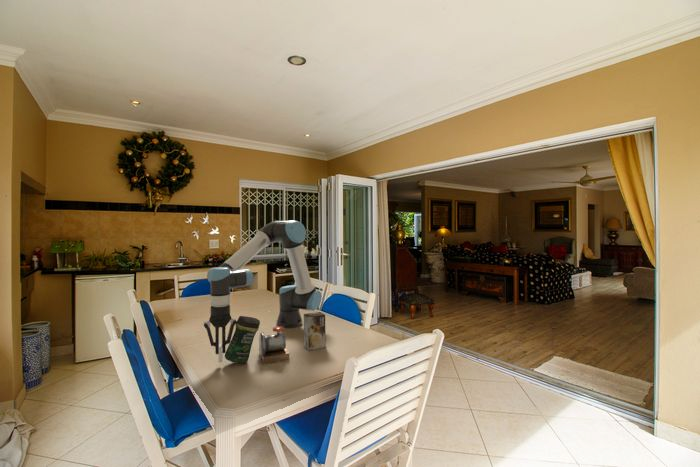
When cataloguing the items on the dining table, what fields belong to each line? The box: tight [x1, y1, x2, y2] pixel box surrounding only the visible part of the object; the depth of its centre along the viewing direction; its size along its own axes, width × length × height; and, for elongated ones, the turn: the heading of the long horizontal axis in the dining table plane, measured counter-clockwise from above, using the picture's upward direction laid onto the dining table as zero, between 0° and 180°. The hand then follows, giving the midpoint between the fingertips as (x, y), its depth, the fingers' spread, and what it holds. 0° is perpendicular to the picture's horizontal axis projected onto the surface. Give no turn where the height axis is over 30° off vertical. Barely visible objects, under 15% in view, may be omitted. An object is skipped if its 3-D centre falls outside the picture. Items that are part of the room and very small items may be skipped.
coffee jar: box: [224, 315, 261, 364], centre depth 136 cm, size 10×8×19 cm
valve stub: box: [258, 325, 290, 365], centre depth 142 cm, size 11×12×13 cm
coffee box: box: [303, 311, 327, 351], centre depth 154 cm, size 9×6×16 cm
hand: (220, 361), depth 132 cm, fingers closed
